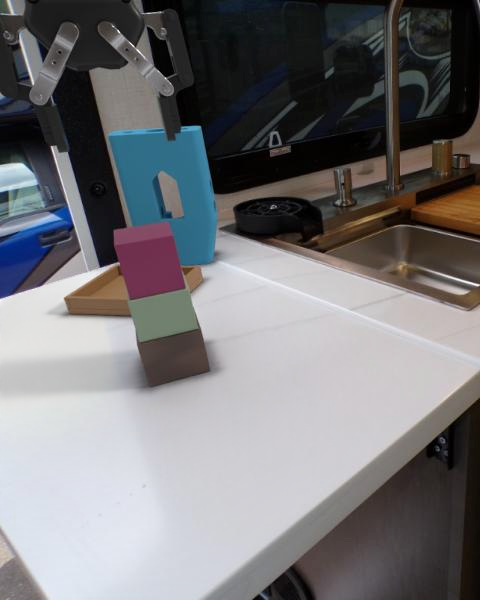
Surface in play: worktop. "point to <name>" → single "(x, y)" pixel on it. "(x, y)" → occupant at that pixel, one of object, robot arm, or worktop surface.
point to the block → (190, 180)
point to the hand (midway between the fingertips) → (119, 145)
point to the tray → (114, 292)
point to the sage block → (163, 314)
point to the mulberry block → (148, 260)
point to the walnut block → (174, 356)
